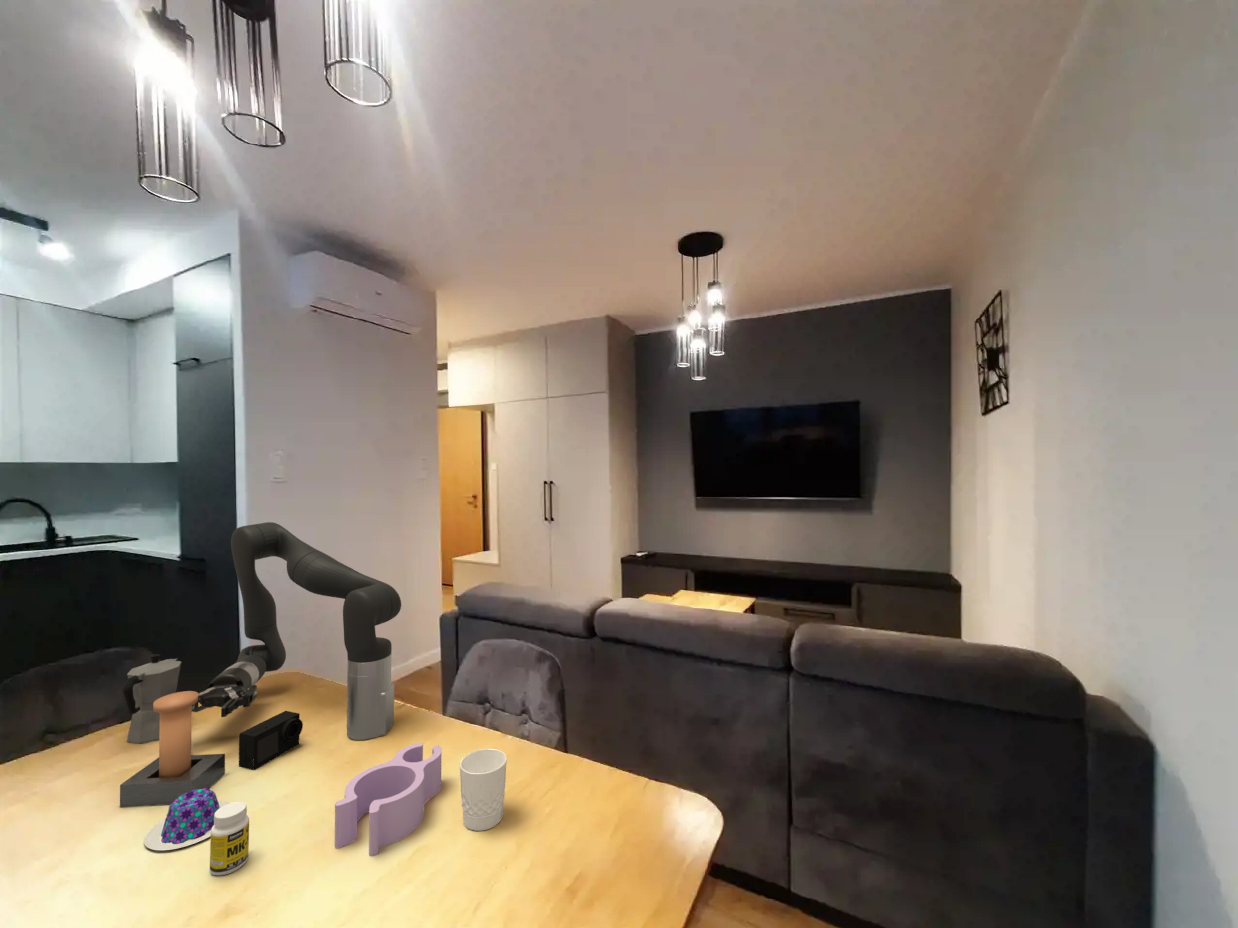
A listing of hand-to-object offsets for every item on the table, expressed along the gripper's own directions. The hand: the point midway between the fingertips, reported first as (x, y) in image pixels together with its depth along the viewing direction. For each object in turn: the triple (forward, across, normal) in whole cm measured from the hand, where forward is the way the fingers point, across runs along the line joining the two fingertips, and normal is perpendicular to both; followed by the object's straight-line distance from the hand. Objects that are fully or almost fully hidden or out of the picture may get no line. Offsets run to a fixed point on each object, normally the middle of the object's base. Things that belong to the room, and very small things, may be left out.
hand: (198, 714), depth 106 cm
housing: (+9, 0, +10) cm, 13 cm away
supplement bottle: (+33, +18, +10) cm, 39 cm away
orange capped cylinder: (+9, 0, +10) cm, 13 cm away
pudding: (+21, +8, +11) cm, 25 cm away
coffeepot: (-16, -16, +10) cm, 25 cm away
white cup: (+32, +56, +10) cm, 65 cm away
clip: (+26, +41, +10) cm, 50 cm away
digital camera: (0, +13, +10) cm, 17 cm away
